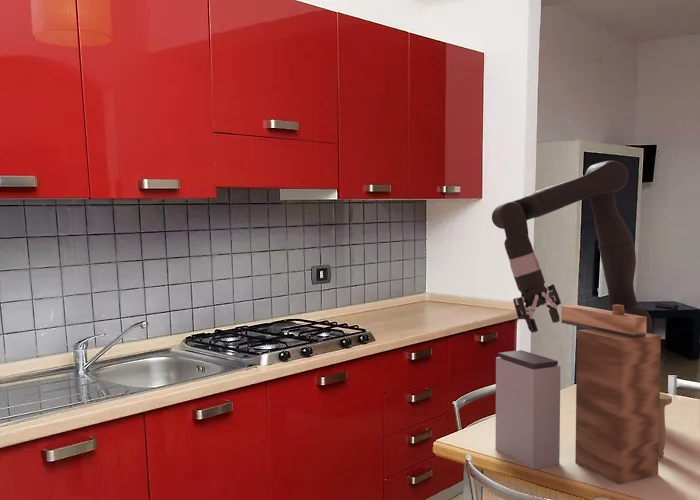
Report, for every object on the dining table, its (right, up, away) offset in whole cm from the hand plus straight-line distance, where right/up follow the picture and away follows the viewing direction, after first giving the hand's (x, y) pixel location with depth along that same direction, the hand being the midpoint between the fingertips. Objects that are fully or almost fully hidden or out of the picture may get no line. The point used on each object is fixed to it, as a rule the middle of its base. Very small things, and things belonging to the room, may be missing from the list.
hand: (545, 327), depth 165 cm
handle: (+21, -29, -19) cm, 41 cm away
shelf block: (+8, -30, -26) cm, 40 cm away
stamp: (+6, +2, -23) cm, 24 cm away
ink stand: (-11, -29, -18) cm, 36 cm away
